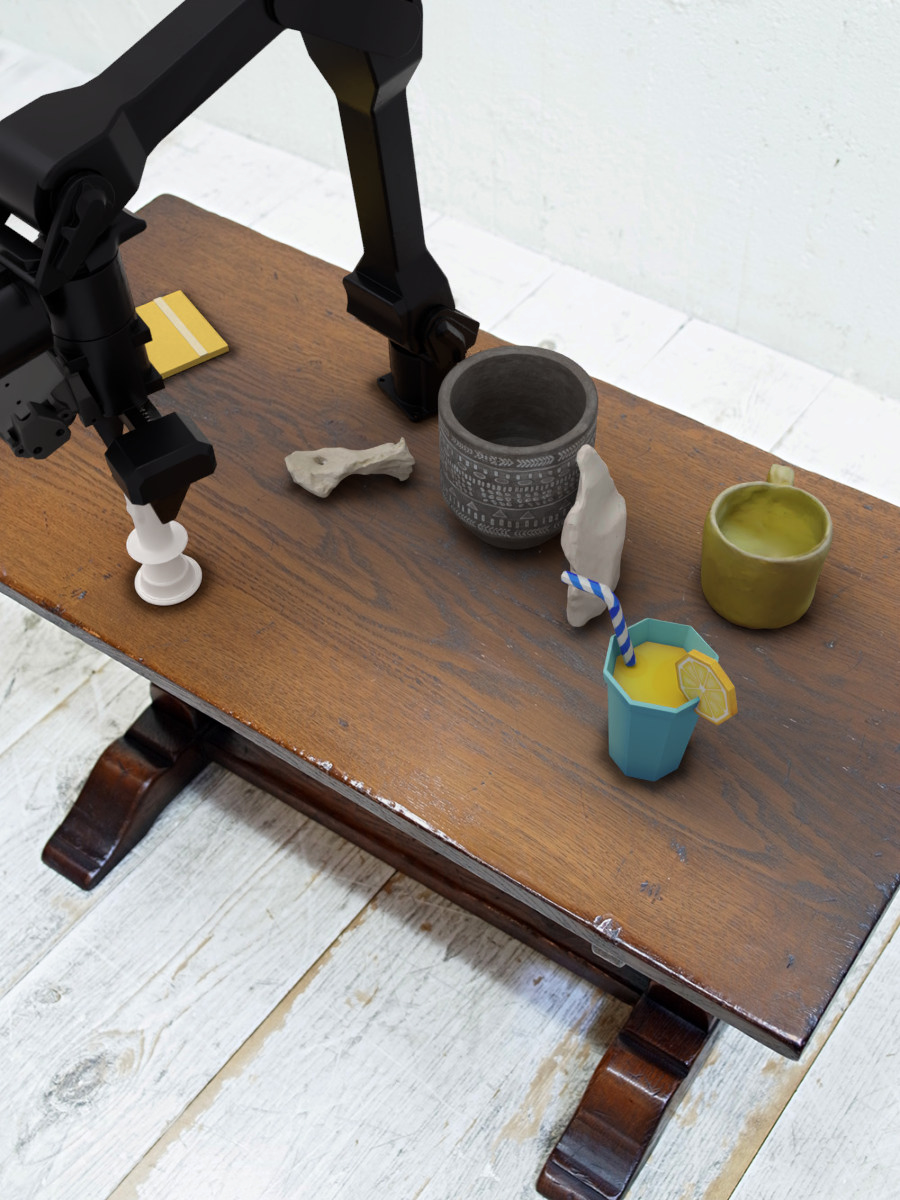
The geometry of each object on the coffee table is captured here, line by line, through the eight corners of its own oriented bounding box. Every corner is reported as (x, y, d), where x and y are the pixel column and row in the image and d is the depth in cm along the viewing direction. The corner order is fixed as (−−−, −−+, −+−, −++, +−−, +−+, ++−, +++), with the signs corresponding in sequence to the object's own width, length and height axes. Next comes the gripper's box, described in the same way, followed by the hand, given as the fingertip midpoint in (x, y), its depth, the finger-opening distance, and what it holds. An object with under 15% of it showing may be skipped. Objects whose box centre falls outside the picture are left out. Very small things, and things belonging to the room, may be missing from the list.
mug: (813, 657, 95) (806, 542, 90) (683, 635, 100) (670, 525, 95) (863, 570, 103) (860, 459, 98) (740, 554, 108) (731, 449, 103)
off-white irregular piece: (285, 468, 111) (278, 430, 107) (403, 445, 112) (401, 407, 109) (296, 515, 107) (290, 477, 104) (418, 490, 109) (416, 453, 105)
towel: (229, 351, 120) (227, 340, 119) (111, 401, 116) (108, 391, 115) (181, 295, 126) (179, 285, 125) (67, 341, 122) (63, 331, 121)
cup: (524, 732, 94) (530, 603, 82) (582, 661, 97) (596, 529, 86) (692, 833, 88) (724, 711, 76) (747, 754, 92) (785, 627, 80)
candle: (188, 611, 101) (158, 507, 92) (124, 599, 102) (88, 495, 92) (211, 561, 104) (185, 455, 95) (150, 550, 105) (118, 444, 96)
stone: (623, 644, 97) (602, 498, 87) (569, 641, 99) (541, 497, 88) (642, 546, 104) (624, 399, 94) (591, 544, 105) (568, 400, 95)
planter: (588, 462, 110) (598, 345, 100) (588, 571, 103) (600, 457, 93) (446, 457, 111) (442, 341, 101) (436, 565, 103) (431, 451, 93)
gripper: (-83, 283, 84) (-11, 453, 97) (27, 449, 75) (91, 614, 87) (75, 224, 88) (125, 394, 100) (199, 374, 78) (237, 543, 90)
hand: (140, 482), depth 94 cm, fingers open, 9 cm apart
